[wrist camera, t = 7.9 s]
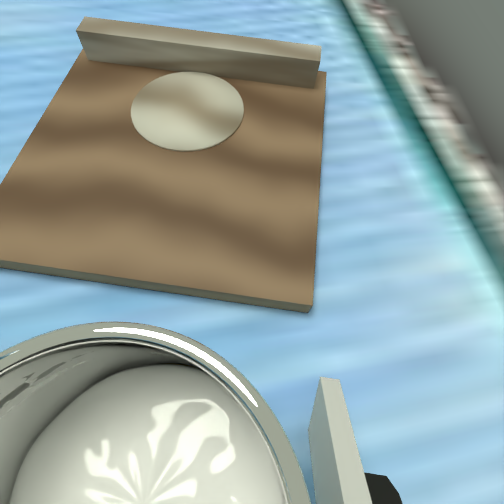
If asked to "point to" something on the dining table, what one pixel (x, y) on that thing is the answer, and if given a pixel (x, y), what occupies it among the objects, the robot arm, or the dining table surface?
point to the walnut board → (175, 167)
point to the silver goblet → (136, 423)
